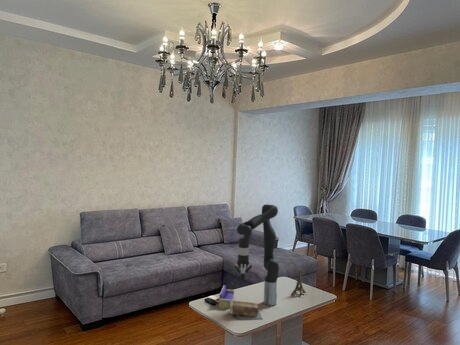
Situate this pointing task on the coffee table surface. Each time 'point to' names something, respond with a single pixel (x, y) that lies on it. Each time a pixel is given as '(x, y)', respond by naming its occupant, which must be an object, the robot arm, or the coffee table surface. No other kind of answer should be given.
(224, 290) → the toy sofa
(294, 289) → the eiffel tower
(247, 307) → the walnut block
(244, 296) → the coffee table surface
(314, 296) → the coffee table surface
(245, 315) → the mat
